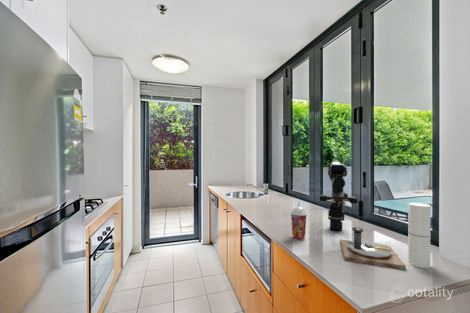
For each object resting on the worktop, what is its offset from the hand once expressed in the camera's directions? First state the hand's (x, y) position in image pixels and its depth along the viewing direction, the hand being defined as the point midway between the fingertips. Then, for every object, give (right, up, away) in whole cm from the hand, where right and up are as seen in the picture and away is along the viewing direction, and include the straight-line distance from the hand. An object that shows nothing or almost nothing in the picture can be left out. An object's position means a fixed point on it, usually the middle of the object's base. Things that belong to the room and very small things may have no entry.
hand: (337, 214), depth 122 cm
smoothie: (-22, -13, 0) cm, 25 cm away
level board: (+5, -13, -20) cm, 24 cm away
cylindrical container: (+21, -13, -30) cm, 38 cm away
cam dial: (+5, -11, -20) cm, 24 cm away
